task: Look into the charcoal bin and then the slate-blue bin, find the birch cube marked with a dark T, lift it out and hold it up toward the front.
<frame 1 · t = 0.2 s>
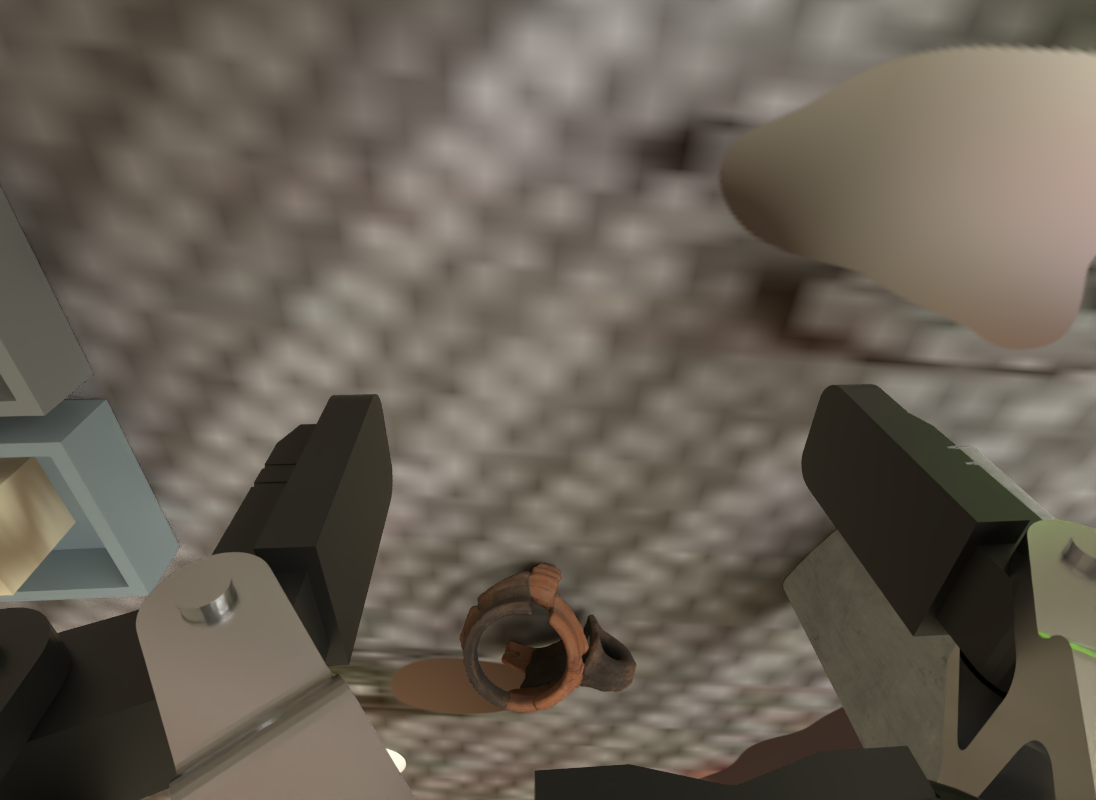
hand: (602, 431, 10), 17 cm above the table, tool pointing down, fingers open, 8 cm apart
pottery mug: (545, 602, 41), on the table
hip flask: (868, 523, 38), on the table
slate bin: (15, 484, 31), on the table
letter cube: (7, 491, 31), point 1 cm above the table, touching slate bin
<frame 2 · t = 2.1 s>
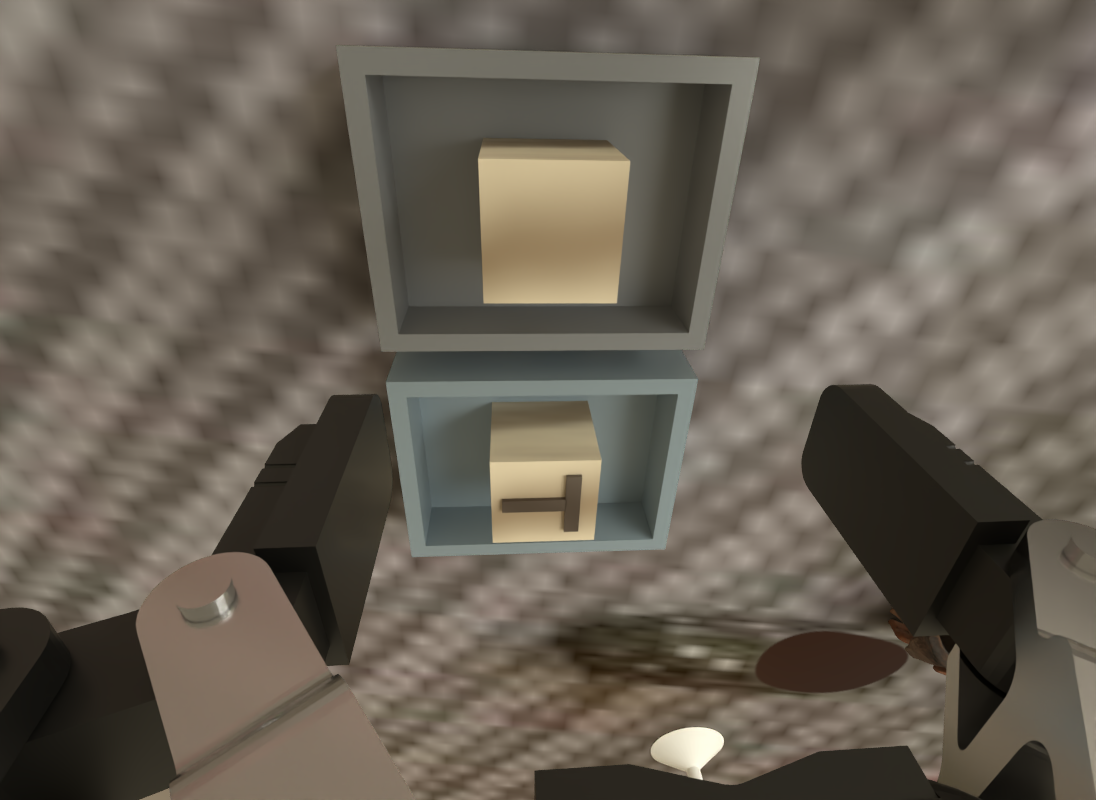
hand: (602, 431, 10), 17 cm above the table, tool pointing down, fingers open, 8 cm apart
pottery mug: (943, 578, 41), on the table
champagne flute: (686, 744, 51), on the table
charcoal bin: (543, 199, 24), on the table
slate bin: (538, 433, 31), on the table
letter cube: (539, 440, 30), point 1 cm above the table, touching slate bin
blank cube: (544, 203, 24), point 1 cm above the table, touching charcoal bin
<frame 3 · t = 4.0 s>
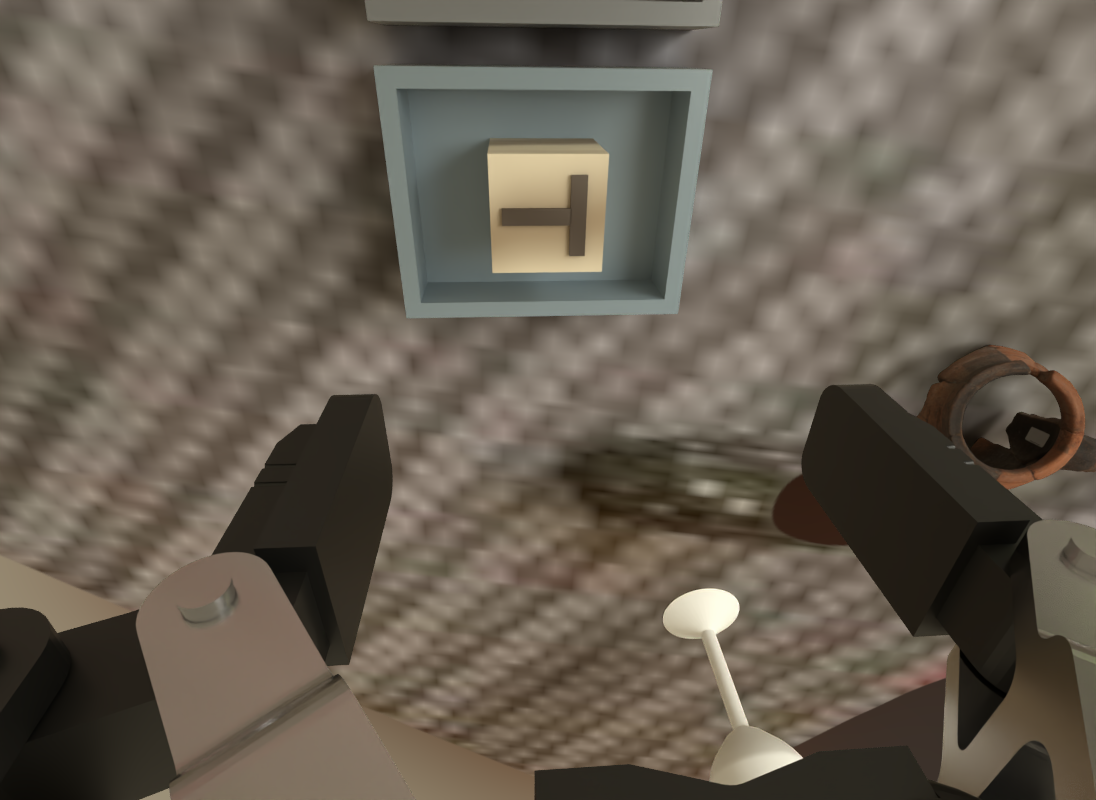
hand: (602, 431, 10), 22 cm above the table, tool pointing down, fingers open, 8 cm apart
pottery mug: (962, 404, 39), on the table
champagne flute: (700, 612, 48), on the table
slate bin: (540, 189, 29), on the table
letter cube: (541, 192, 28), point 1 cm above the table, touching slate bin
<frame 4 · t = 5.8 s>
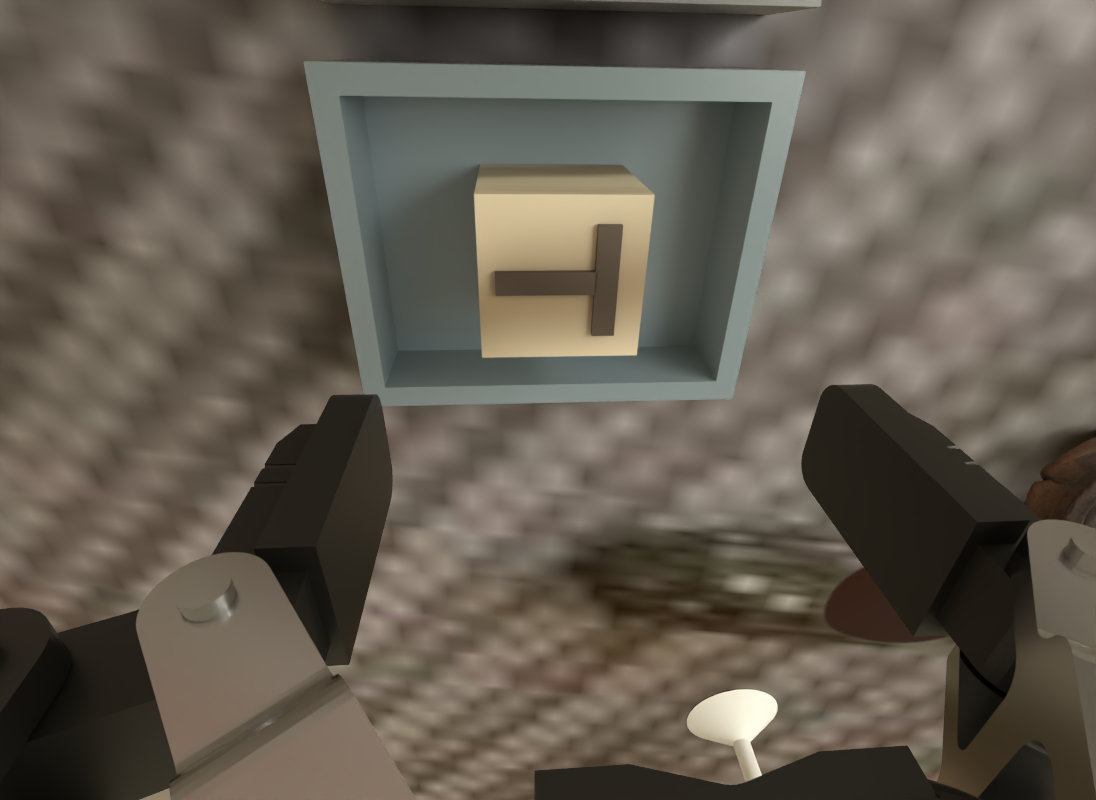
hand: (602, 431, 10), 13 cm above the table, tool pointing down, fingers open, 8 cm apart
pottery mug: (1059, 494, 31), on the table
champagne flute: (731, 713, 41), on the table
slate bin: (549, 231, 21), on the table
letter cube: (550, 235, 21), point 1 cm above the table, touching slate bin
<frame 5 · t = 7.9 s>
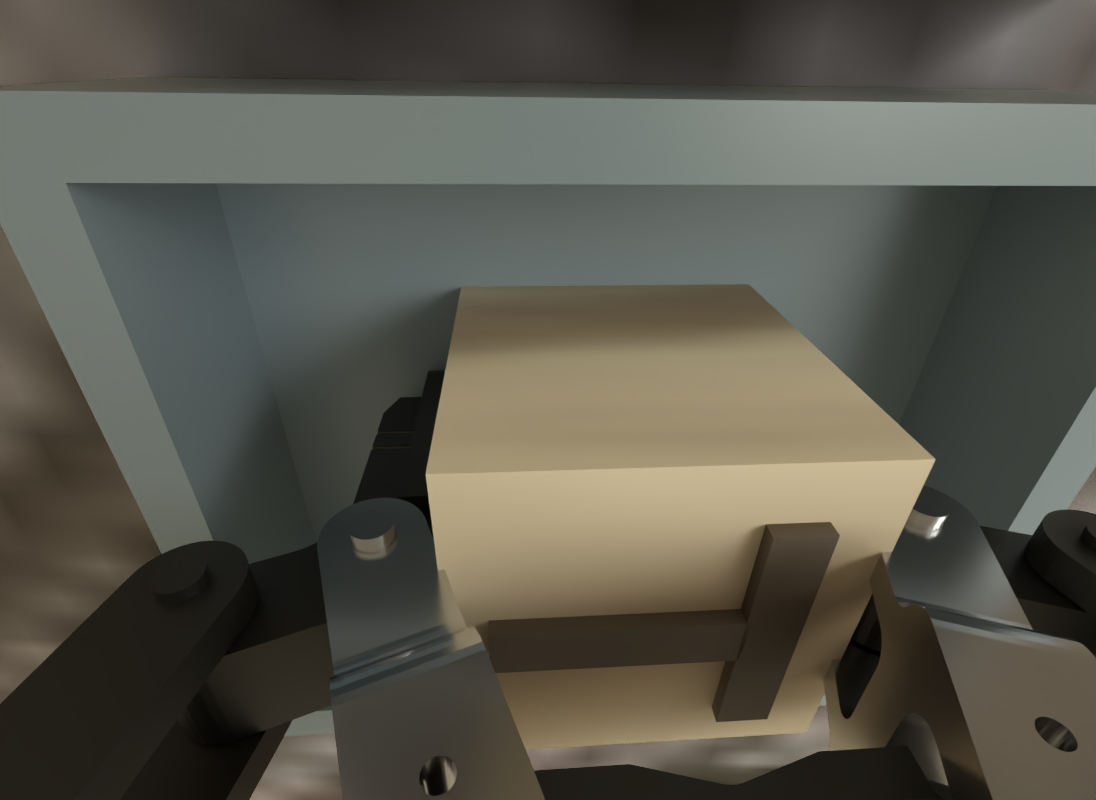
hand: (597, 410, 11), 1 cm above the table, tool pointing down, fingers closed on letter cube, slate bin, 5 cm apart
slate bin: (601, 392, 11), on the table
letter cube: (598, 408, 11), point 1 cm above the table, touching gripper
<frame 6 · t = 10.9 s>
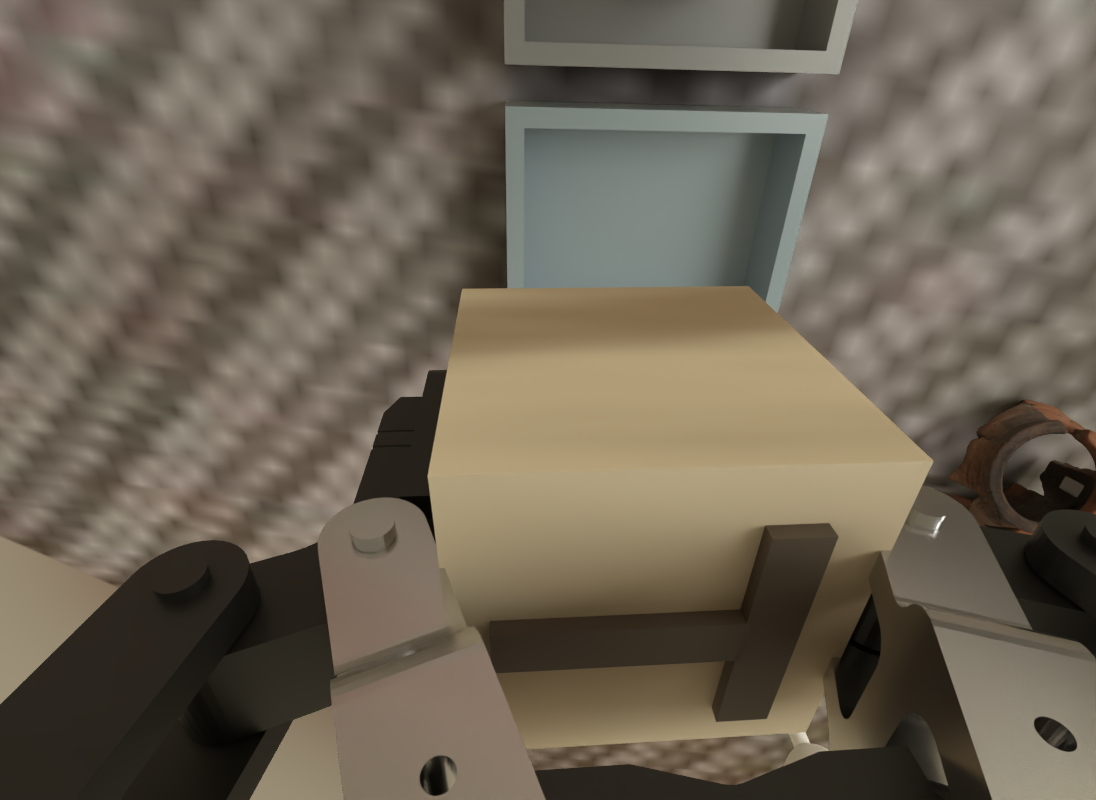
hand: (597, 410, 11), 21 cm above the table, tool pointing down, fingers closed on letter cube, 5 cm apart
pottery mug: (998, 453, 40), on the table
champagne flute: (751, 628, 49), on the table
slate bin: (638, 221, 30), on the table
letter cube: (598, 409, 11), point 21 cm above the table, touching gripper
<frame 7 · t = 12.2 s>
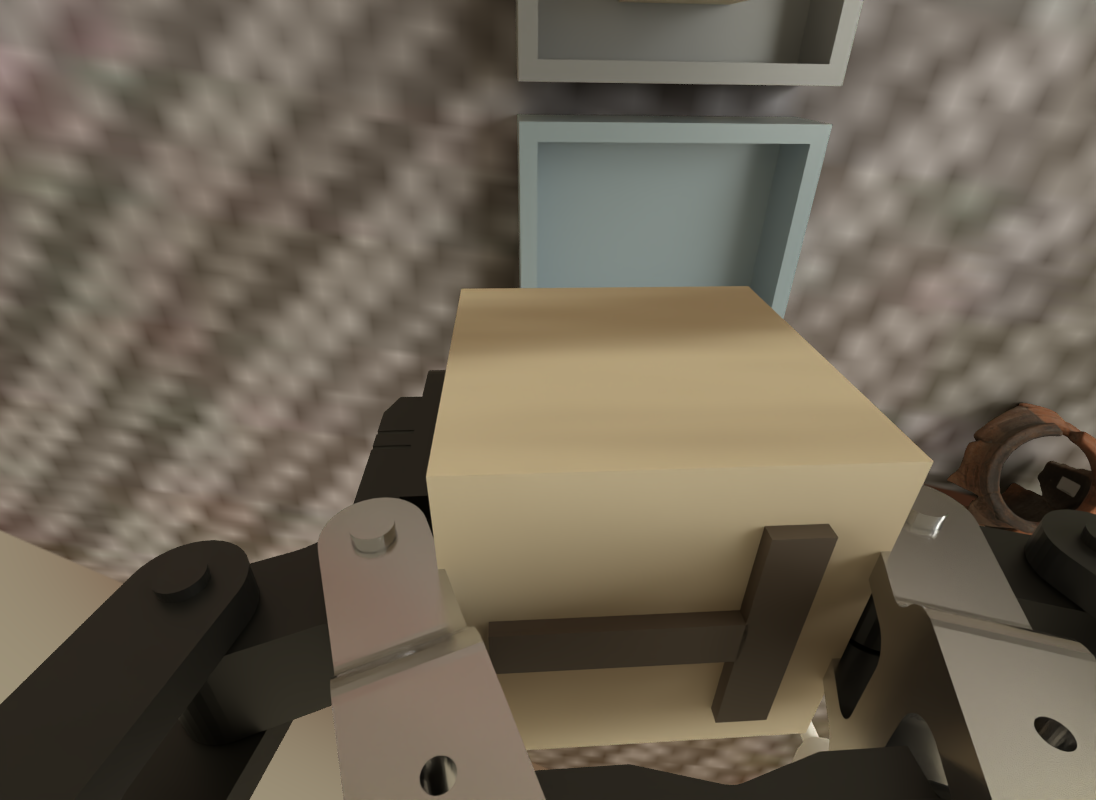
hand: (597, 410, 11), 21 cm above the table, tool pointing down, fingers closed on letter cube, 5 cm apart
pottery mug: (996, 454, 41), on the table
champagne flute: (759, 625, 50), on the table
slate bin: (647, 228, 30), on the table
letter cube: (598, 409, 11), point 21 cm above the table, touching gripper
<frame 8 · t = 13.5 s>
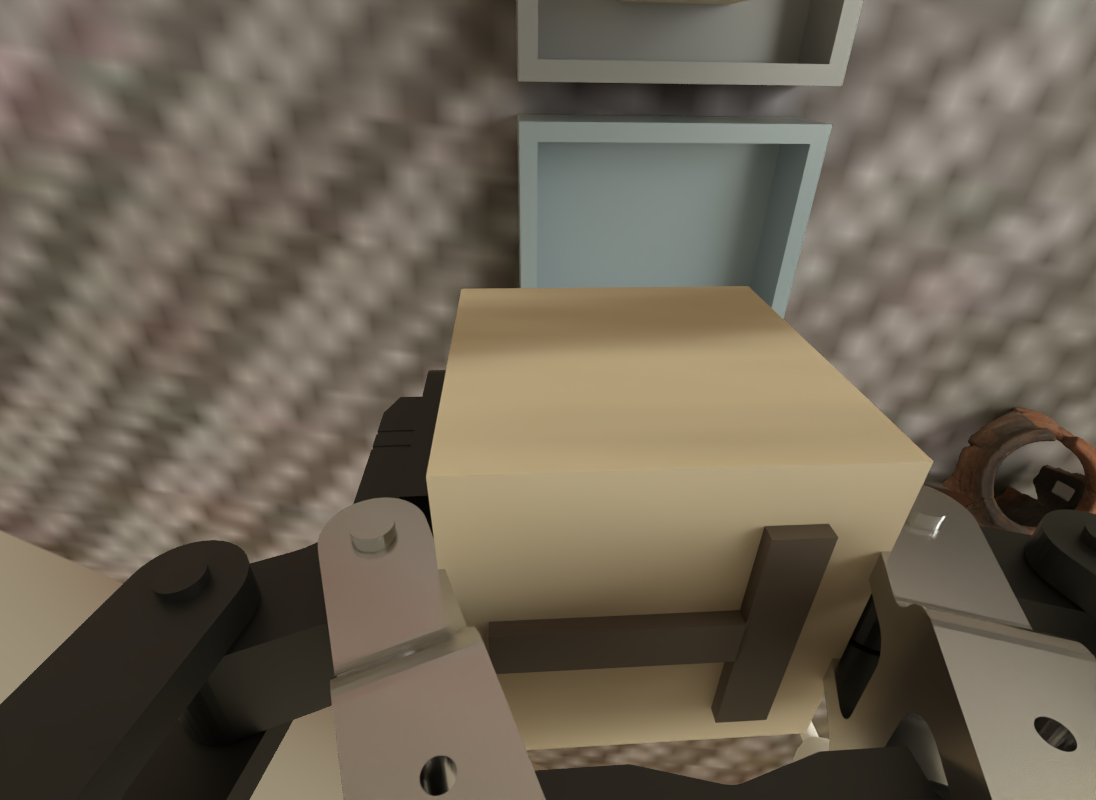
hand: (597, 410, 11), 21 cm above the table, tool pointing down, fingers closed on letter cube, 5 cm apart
pottery mug: (991, 458, 42), on the table
champagne flute: (759, 625, 50), on the table
slate bin: (647, 228, 30), on the table
letter cube: (598, 409, 11), point 21 cm above the table, touching gripper
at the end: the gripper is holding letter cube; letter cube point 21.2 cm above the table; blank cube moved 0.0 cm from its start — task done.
